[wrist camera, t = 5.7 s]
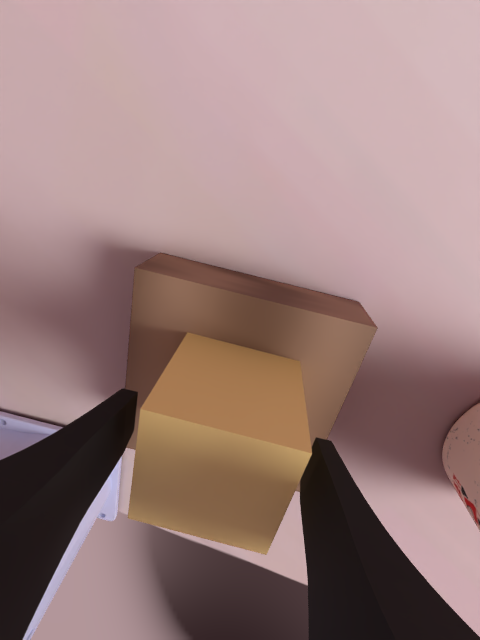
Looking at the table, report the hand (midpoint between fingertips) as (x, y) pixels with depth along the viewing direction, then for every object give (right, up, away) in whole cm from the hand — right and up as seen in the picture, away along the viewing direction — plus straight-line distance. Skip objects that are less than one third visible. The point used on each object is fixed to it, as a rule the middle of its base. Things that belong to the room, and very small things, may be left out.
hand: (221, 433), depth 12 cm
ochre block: (0, +1, +2) cm, 2 cm away
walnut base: (+1, +2, +5) cm, 5 cm away
